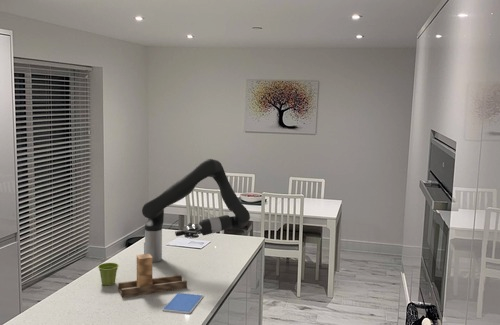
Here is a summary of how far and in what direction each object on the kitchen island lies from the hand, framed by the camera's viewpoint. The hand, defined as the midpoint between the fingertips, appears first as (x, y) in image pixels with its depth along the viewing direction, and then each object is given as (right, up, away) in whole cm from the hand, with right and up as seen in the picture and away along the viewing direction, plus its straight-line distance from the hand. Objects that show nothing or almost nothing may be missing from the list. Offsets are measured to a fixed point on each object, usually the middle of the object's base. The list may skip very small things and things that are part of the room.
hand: (175, 234), depth 226 cm
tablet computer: (+7, -28, -20) cm, 35 cm away
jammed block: (-13, -24, -7) cm, 28 cm away
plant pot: (-32, -24, +1) cm, 40 cm away
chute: (-10, -25, -5) cm, 27 cm away
